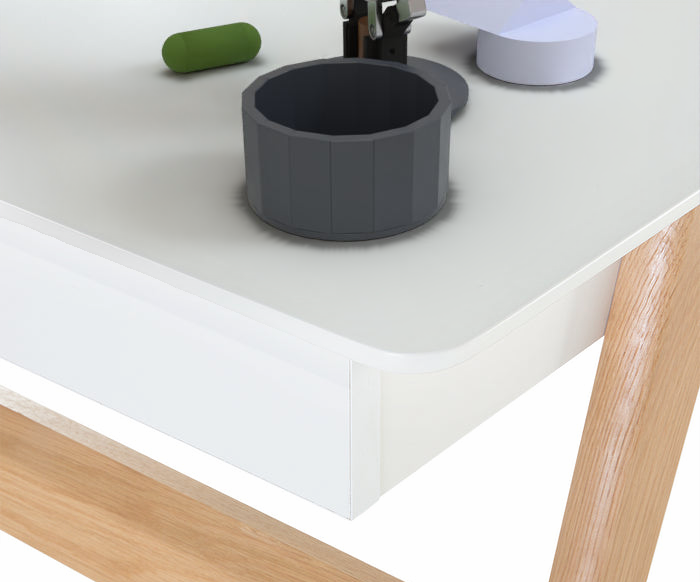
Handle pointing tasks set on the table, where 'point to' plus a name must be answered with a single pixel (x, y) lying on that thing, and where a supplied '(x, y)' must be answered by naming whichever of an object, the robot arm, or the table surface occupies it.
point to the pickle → (211, 47)
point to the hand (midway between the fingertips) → (374, 77)
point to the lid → (441, 72)
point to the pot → (346, 147)
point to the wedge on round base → (527, 38)
